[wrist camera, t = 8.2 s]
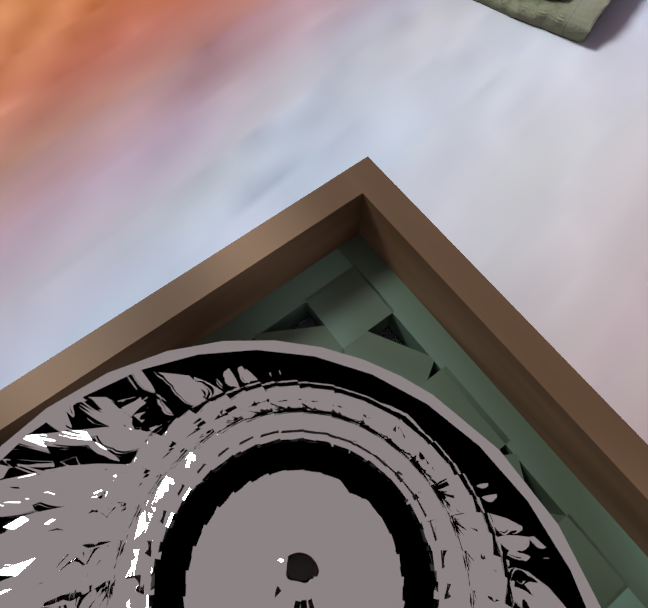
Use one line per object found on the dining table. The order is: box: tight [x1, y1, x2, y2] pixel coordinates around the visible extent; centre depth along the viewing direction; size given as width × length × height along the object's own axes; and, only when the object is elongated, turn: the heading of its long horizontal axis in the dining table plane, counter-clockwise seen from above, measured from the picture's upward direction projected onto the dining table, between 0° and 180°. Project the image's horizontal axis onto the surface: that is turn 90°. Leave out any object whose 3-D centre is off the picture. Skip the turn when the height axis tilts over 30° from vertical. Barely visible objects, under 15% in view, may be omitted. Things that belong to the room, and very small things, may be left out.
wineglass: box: [0, 340, 601, 608], centre depth 8 cm, size 6×6×12 cm
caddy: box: [0, 157, 648, 608], centre depth 13 cm, size 16×16×4 cm
